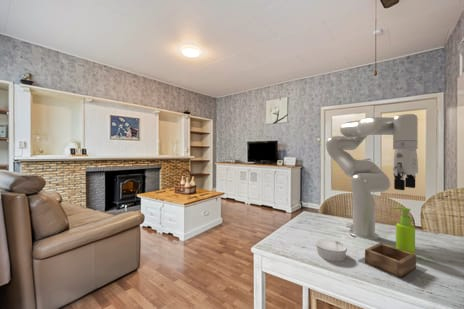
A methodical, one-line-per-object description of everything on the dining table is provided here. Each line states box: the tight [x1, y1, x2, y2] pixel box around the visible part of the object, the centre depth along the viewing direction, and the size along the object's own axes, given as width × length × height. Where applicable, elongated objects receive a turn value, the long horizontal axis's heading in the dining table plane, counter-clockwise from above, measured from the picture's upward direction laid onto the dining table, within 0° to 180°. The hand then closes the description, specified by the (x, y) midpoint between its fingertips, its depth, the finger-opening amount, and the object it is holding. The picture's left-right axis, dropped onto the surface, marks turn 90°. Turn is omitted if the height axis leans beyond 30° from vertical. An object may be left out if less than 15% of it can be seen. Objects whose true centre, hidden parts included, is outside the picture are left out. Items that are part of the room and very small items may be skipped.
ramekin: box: [315, 238, 348, 262], centre depth 85 cm, size 11×11×5 cm
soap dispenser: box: [392, 206, 416, 255], centre depth 85 cm, size 6×7×20 cm
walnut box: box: [364, 242, 417, 279], centre depth 77 cm, size 11×11×5 cm
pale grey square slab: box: [357, 256, 428, 284], centre depth 77 cm, size 16×15×1 cm
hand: (404, 188), depth 84 cm, fingers open, 9 cm apart
